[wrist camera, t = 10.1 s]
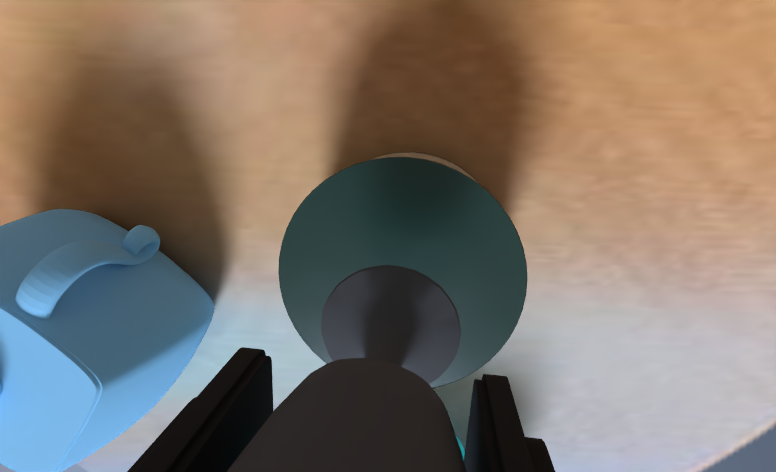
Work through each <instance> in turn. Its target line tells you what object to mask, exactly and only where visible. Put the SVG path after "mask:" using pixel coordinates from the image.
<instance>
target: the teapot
mask: <svg viewBox="0 0 776 472" xmlns="http://www.w3.org/2000/svg"><path fill="white" fill-rule="evenodd" d="M159 246H160V237H159V235H158V234H157V232H156V231H155V230H154V229H153V228H150V227H148V226H145V225H137V226H135V227H134V228H132V229H131V230H130V231H127V230H126V229H124V228H122V227H120V226H118V225H117V224H115V223H113V222H111V221H109V220H107V219H105V218H103V217H101V216H99V215H96V214H93V213H89V212H85V211H81V210H73V209H53V210H49V211H45V212H40V213H37V214H34V215H31V216H28V217H25V218H22V219H19V220H16V221H13V222H10V223H7V224H5V225H2V226H0V464H2V465H4V466H5V467H7V468H9V469H11V470H13V471H15V472H62V471H64V470H65V469H67V468H69V467H70V466H72V465H74V464H76V463H77V462H79V461H81V460H82V459H84V458H86V457H87V456H89V455H91V454H92V453H94V452H95V451H97V450H98V449H100V448H102V447H103V446H105V445H106V444H108V443H109V442H111V441H112V440H113V439H115V438H116V437H118V436H119V435H120V434H122V433H123V432H125V431H126V430H127V429H128V428H130V427H131V426H132V425H133V424H135V423H136V422H137V421H138V420H140V419H141V418H142V417H143V416H144V415H145V414H147V413H148V412H149V411H150V410H151V409H152V408H153V407H154V406H155V405H156V404H157V403H158V401H159V400H160V399H161V398H162V397H163V396H164V395H165V393H166V392H167V391H168V390H169V388H170V387H171V386H172V385H173V383H174V382H175V381H176V379H177V378H178V377H179V375H180V374H181V373H182V371H183V370H184V368H185V367H186V365H187V364H188V362H189V361H190V359H191V358H192V356H193V354H194V352H195V351H196V349H197V347H198V346H199V344H200V342H201V340H202V338H203V336H204V334H205V332H206V330H207V329H208V326H209V324H210V322H211V319H212V316H213V312H214V304H213V302H212V300H211V298H210V297H209V295H208V294H207V293H206V292H205V291H204V290H203V289H202V287H201V286H200V285H199V284H198V283H197V282H195V281H194V280H193V279H192V278H191V277H190V276H189V275H188V274H187V273H186V272H184V271H183V270H182V269H181V268H180V267H179V266H178V265H176V264H175V263H174V262H173V261H172V260H170V259H169V258H168V257H167V256H166V255H164V254H163V253H162V252H160V251H159V250H158V249H159Z"/></svg>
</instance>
